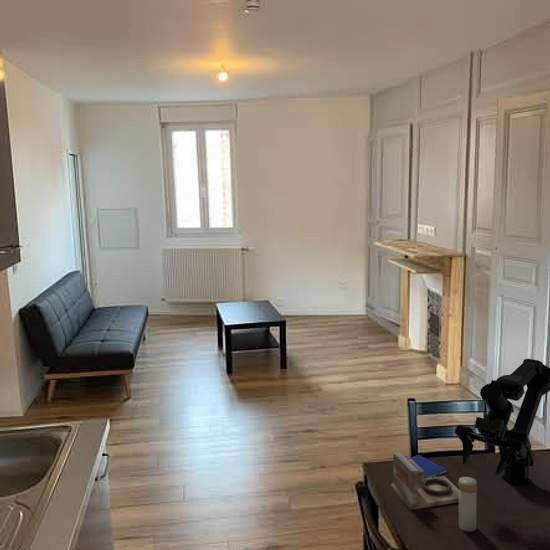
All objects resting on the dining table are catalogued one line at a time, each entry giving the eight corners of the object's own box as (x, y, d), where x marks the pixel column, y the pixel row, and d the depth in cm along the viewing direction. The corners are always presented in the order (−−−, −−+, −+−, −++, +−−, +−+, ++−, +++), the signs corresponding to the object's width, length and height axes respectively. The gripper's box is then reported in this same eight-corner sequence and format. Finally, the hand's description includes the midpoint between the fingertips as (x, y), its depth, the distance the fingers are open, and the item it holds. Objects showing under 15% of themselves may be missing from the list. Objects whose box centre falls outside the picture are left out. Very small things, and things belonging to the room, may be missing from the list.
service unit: (443, 479, 176) (444, 445, 175) (466, 500, 164) (467, 464, 162) (391, 487, 172) (391, 452, 171) (410, 509, 160) (410, 472, 158)
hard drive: (400, 460, 187) (428, 475, 177) (418, 454, 191) (447, 468, 181) (400, 465, 188) (428, 480, 177) (418, 458, 192) (447, 473, 181)
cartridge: (468, 520, 154) (469, 475, 152) (480, 529, 150) (480, 483, 148) (454, 524, 152) (454, 478, 151) (465, 533, 148) (466, 486, 146)
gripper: (457, 397, 162) (438, 446, 156) (524, 413, 149) (506, 467, 143) (470, 415, 169) (451, 463, 163) (534, 432, 156) (517, 485, 150)
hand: (480, 469), depth 154 cm, fingers open, 9 cm apart
